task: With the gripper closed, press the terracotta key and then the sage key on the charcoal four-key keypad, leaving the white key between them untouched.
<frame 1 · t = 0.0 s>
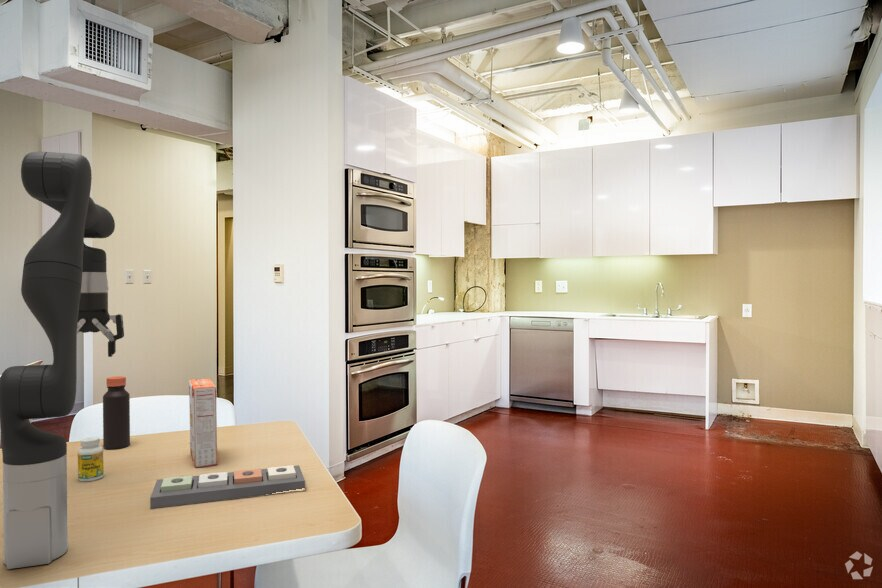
hand: (90, 357, 145), 29 cm above the table, fingers open, 8 cm apart
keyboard: (230, 490, 135), on the table
key white: (213, 480, 134), point 3 cm above the table, slide at 0.0 cm
key sage: (177, 484, 132), point 3 cm above the table, slide at 0.0 cm
key cream: (281, 473, 139), point 3 cm above the table, slide at 0.0 cm
cracker box: (202, 460, 158), on the table
key terracotta: (247, 477, 137), point 3 cm above the table, slide at 0.0 cm
vinegar: (116, 447, 171), on the table
supplement bottle: (90, 479, 143), on the table
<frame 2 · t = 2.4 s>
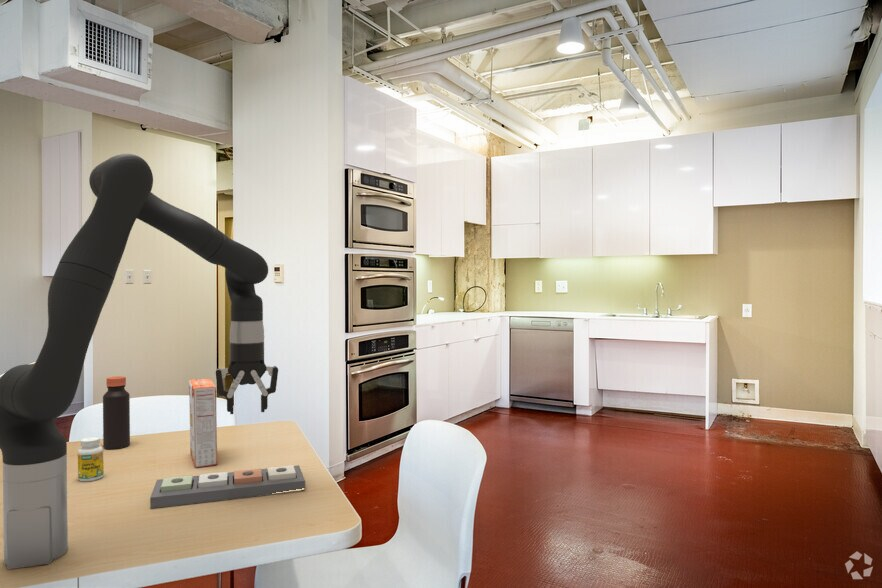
hand: (247, 412, 136), 18 cm above the table, fingers open, 6 cm apart
nothing on the table moved.
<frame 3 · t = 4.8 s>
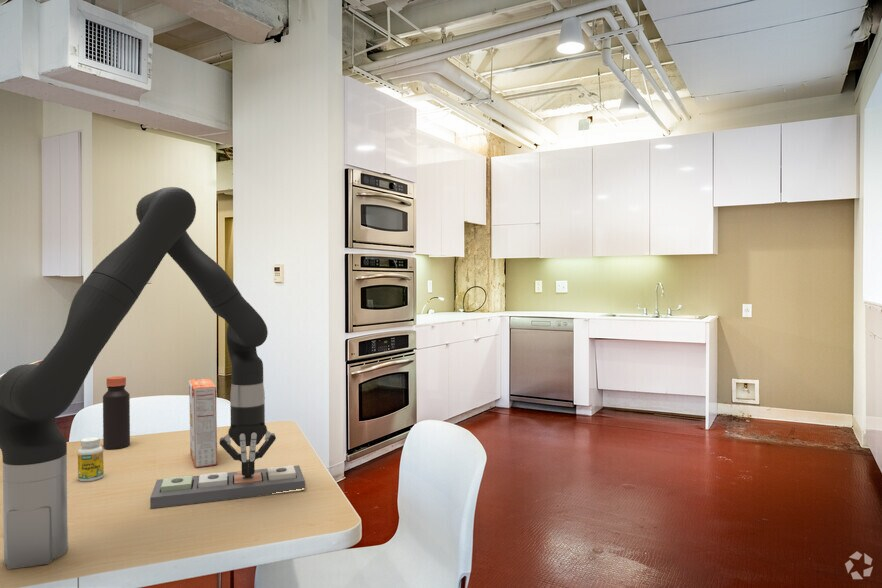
hand: (248, 476, 137), 3 cm above the table, fingers closed
key terracotta: (247, 481, 137), point 2 cm above the table, slide at 0.9 cm, touching gripper
everything else where it was.
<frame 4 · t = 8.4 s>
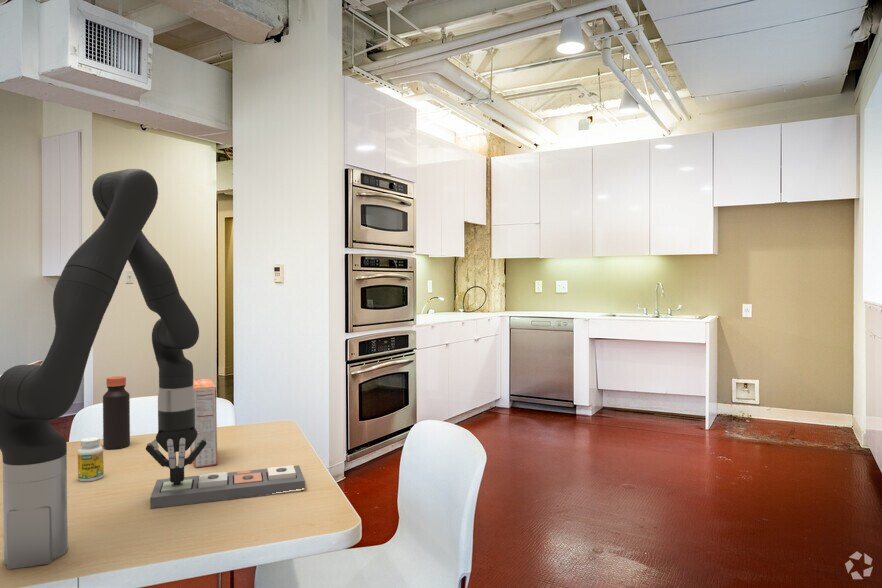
hand: (177, 483, 132), 3 cm above the table, fingers closed
key sage: (177, 488, 132), point 2 cm above the table, slide at 0.9 cm, touching gripper
key terracotta: (247, 481, 137), point 2 cm above the table, slide at 0.9 cm
everything else where it was.
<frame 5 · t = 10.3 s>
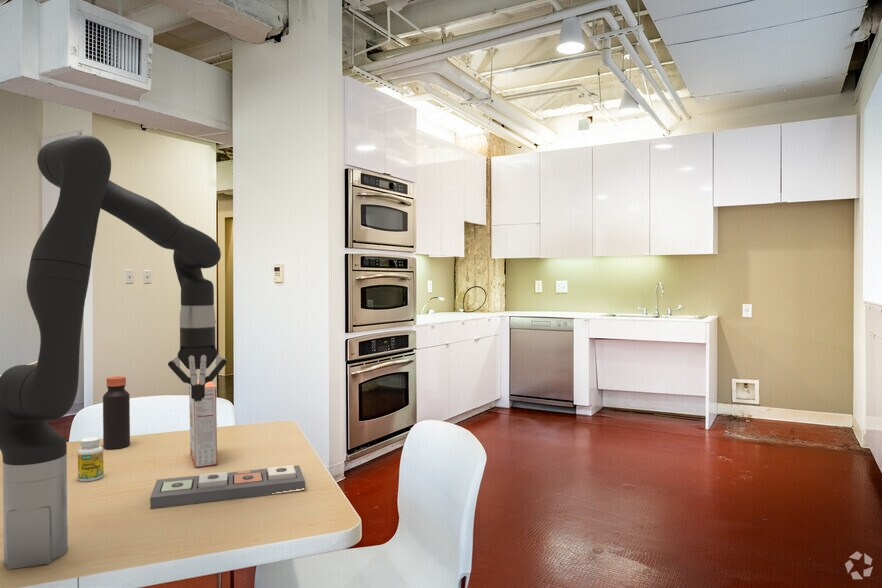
hand: (198, 400, 135), 21 cm above the table, fingers closed
key sage: (177, 488, 132), point 2 cm above the table, slide at 1.0 cm
everything else where it was.
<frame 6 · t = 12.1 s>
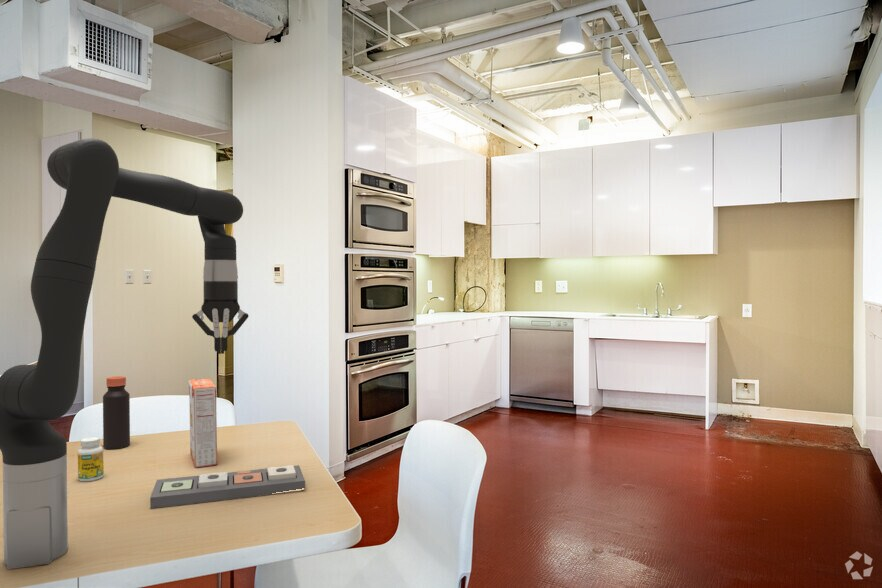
hand: (221, 353, 139), 31 cm above the table, fingers closed
nothing on the table moved.
at the end: key terracotta slide at 0.9 cm; key sage slide at 1.0 cm; key white slide at 0.0 cm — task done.
